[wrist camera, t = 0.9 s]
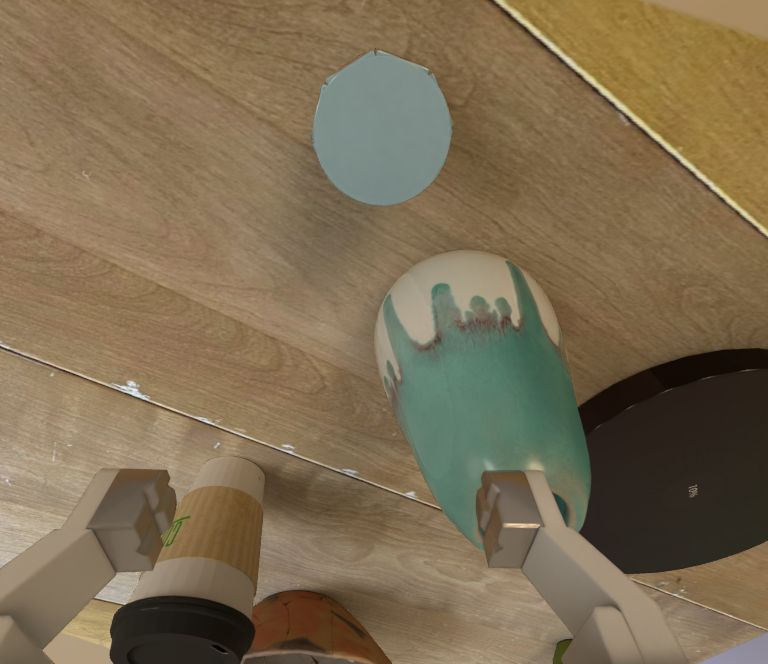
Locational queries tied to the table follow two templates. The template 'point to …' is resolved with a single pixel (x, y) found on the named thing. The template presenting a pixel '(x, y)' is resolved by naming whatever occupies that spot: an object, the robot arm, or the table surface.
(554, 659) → the apple
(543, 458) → the vase
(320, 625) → the bowl
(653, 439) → the disc
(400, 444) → the table surface
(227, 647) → the coffee cup
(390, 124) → the blue cup
